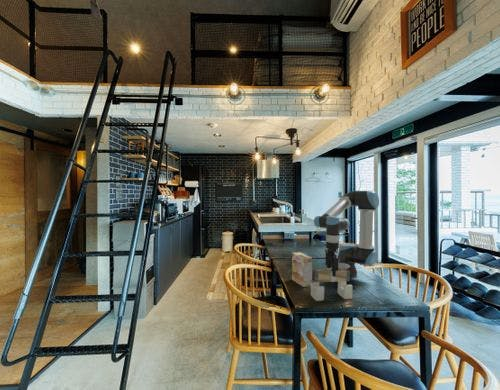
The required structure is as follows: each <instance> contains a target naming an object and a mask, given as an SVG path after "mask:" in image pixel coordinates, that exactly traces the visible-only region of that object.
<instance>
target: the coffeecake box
mask: <svg viewBox="0 0 500 390" xmlns="http://www.w3.org/2000/svg"><path fill="white" fill-rule="evenodd" d="M291 254H292V257H291V259H292V261H291V262H292V265H291V280H292V281H293V282H295V283H297V284H298V285H300V286H301V287H302V288H306V287H311V282H313V280H312V273H313V257H312V256H310V255H308V254H305V253H303V252H301V251H299V252H298V251H297V252H292V253H291Z"/></svg>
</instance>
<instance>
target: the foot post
mask: <svg viewBox="0 0 500 390" xmlns="http://www.w3.org/2000/svg"><path fill="white" fill-rule="evenodd" d="M347 282H348V281H341V282H337V294H338V295H339V296H340V297H341V298H342V299H344V300H350V299H351V300H352V299H353V285H352V284H347Z"/></svg>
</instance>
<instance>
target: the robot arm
mask: <svg viewBox="0 0 500 390" xmlns="http://www.w3.org/2000/svg"><path fill="white" fill-rule="evenodd" d="M379 206H380V197H379V195H378V193H377V192H376V191H374V190H373V191H372V190H351V191H349V192H347V193H345V194H343V195H341V196H340V197H339V199H338V201H337V202H336V203H334V204H333V206H331V207H330V208H329V209H328V210H326V211H325V212H324V213H323V214H322V215H317V216H315V217H314V219H313V223H314V226H315V227H317V228H320V229H325V230H326V231H325V234H326V235H325V248H326V249H325V250H324V253H325V263H324V264H325V266H326V268H327V269H326V270H331V282H330V283H334V282H335V281H336V271H338V263H344V264H348V265H350V267H349V271H350V278H356V277H358V272H357V271H358V270H357V268H356V267H357V266H356V264H359V265H362V266H365V267H373V266H375V264H376V263H377V259H378V252H377V250H375V246H373V230H374V229H373V228H374V227H373V224H374V212H375V211H376V208H378V207H379ZM350 207H357V209H358V211H359V234H358V235H359V236H358V239H359V240H358V244H357V245H356V244H353V243H343V244H340V243H339V242H340V232H342V231H345V230H348V229H349V228H350V225H351V223H350V220H349V219H348V218H345V217H344V218H343V217H342V218H340V215H341V214H342V213H343V212H344V211H345V210H346V209H349V208H350ZM337 250H338V251H337ZM335 283H336V282H335Z"/></svg>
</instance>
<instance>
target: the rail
mask: <svg viewBox="0 0 500 390" xmlns="http://www.w3.org/2000/svg"><path fill="white" fill-rule="evenodd" d="M341 281H347V282H350V271H348V270H347V269H338V271H336V281H335V283H336V282H337V283H338V282H341ZM312 282H319V283H329V282H330V283H332V282H331V270H327V269H312Z"/></svg>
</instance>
